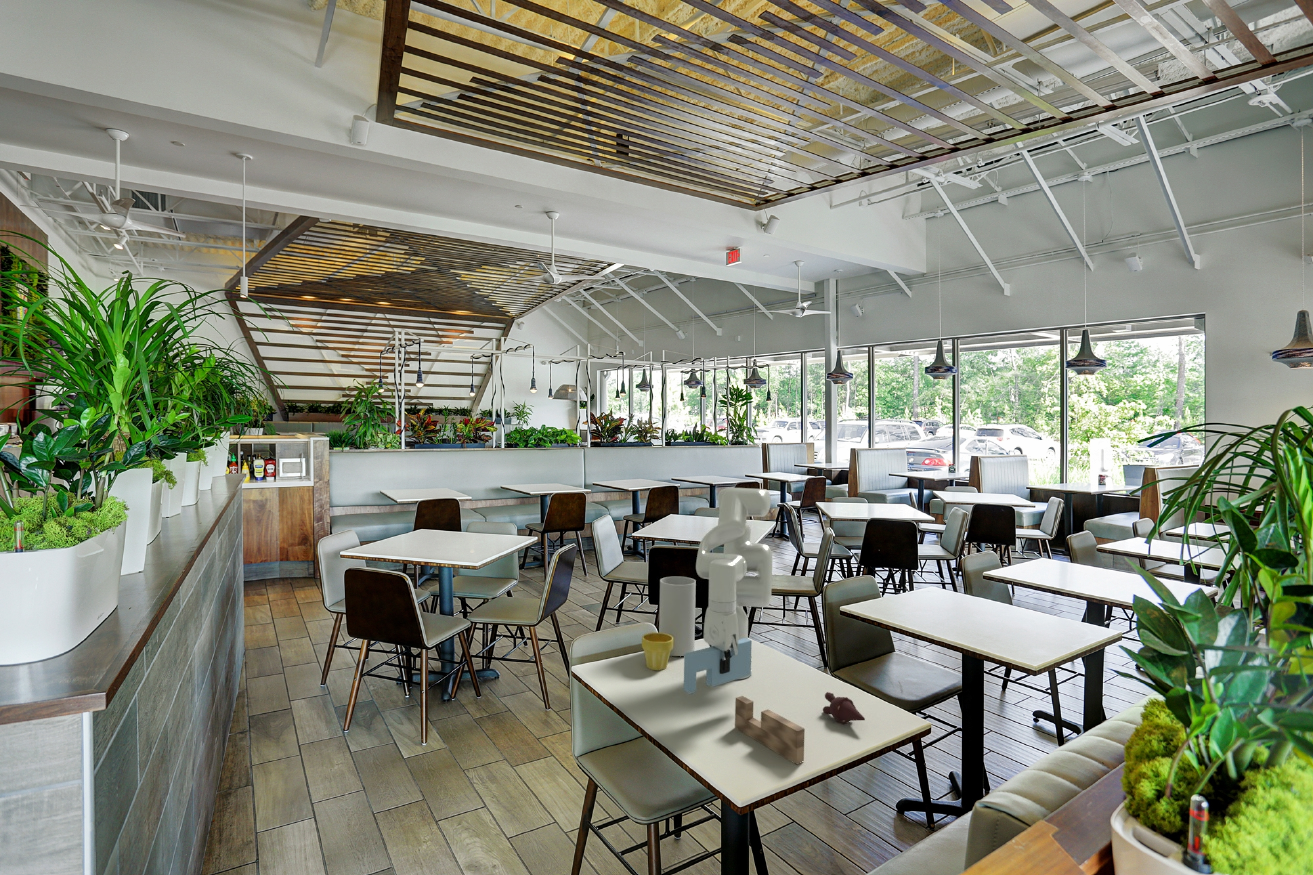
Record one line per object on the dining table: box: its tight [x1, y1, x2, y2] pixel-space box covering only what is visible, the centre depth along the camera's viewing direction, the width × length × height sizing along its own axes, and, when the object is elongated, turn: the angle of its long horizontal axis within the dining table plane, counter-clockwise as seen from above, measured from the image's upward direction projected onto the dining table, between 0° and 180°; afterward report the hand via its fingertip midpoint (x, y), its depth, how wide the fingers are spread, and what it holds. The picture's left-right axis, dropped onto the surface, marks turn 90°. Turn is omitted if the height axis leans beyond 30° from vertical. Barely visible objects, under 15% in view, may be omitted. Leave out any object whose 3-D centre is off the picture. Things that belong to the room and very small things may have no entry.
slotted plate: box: [683, 638, 753, 694], centre depth 179 cm, size 22×2×10 cm, turn 124°
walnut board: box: [734, 695, 805, 765], centre depth 163 cm, size 22×2×8 cm, turn 34°
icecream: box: [822, 691, 866, 725], centre depth 176 cm, size 7×7×15 cm
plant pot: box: [641, 632, 673, 671], centre depth 214 cm, size 10×10×10 cm
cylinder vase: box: [658, 576, 697, 658], centre depth 228 cm, size 12×12×25 cm
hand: (721, 670), depth 180 cm, fingers closed on slotted plate, 2 cm apart
